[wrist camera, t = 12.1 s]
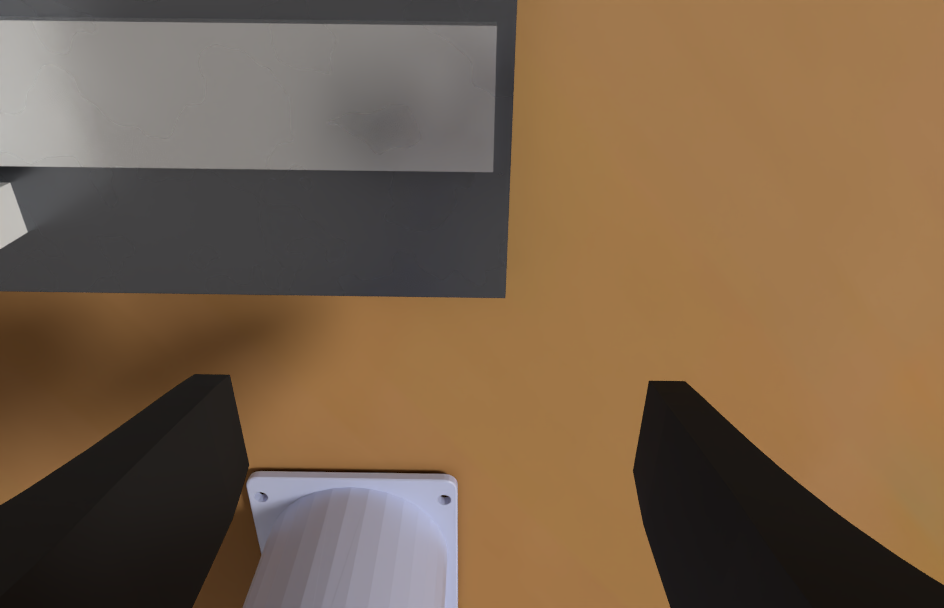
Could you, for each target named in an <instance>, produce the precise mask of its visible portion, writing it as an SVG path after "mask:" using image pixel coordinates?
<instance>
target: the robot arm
mask: <svg viewBox="0 0 944 608" xmlns="http://www.w3.org/2000/svg"><path fill="white" fill-rule="evenodd" d="M248 467H249V462H248V457H247V453H246V448H245V443H244V439H243V434H242V429H241V425H240V420H239V415H238V411H237V406H236V401H235V397H234V392H233V387H232V383H231V378H230V375H210V374H194V375H193V376H191V377H190V378H188V379H186V380H185V381H183V382H182V383H180V384H179V385H177V386H176V387H174V388H173V389H172V390H170V391H169V392H167V393H166V394H165V395H163V396H162V397H160V398H159V399H158V400H156V401H155V402H153V403H152V404H151V405H149V406H148V407H146V408H145V409H144V410H142V411H141V412H140V413H138V414H137V415H135V416H134V417H133V418H131V419H130V420H128V421H127V422H126V423H124V424H123V425H121V426H120V427H119V428H117V429H116V430H114V431H113V432H112V433H110V434H109V435H107V436H106V437H104V438H103V439H102V440H100V441H99V442H97V443H96V444H95V445H93V446H92V447H90V448H89V449H87V450H86V451H84V452H83V453H81V454H80V455H78V456H77V457H75V458H74V459H72V460H71V461H69V462H68V463H66V464H65V465H63V466H62V467H60V468H58V469H57V470H55V471H54V472H52V473H51V474H49V475H48V476H46V477H45V478H43V479H42V480H40V481H39V482H37V483H36V484H34V485H33V486H31V487H30V488H28V489H26V490H25V491H23V492H22V493H20V494H18V495H17V496H15V497H13V498H12V499H10V500H8V501H7V502H5V503H3V504H2V505H0V608H192V607H193V605H194V603H195V600H196V598H197V596H198V594H199V592H200V590H201V587H202V585H203V583H204V581H205V579H206V577H207V574H208V572H209V570H210V568H211V566H212V564H213V561H214V559H215V557H216V555H217V553H218V550H219V548H220V546H221V544H222V542H223V539H224V537H225V535H226V533H227V530H228V528H229V526H230V524H231V521H232V519H233V516H234V513H235V510H236V507H237V504H238V501H239V498H240V494H241V491H242V488H243V484H244V481H245V477H246V474H247V470H248ZM633 473H634V478H635V484H636V489H637V495H638V500H639V505H640V510H641V515H642V520H643V525H644V528H645V531H646V534H647V537H648V540H649V544H650V547H651V550H652V553H653V556H654V559H655V562H656V565H657V568H658V571H659V574H660V577H661V580H662V583H663V586H664V589H665V592H666V595H667V598H668V601H669V604H670V607H671V608H944V585H943V584H941V583H939V582H938V581H936V580H934V579H933V578H931V577H929V576H928V575H926V574H925V573H923V572H922V571H920V570H918V569H917V568H915V567H914V566H912V565H911V564H909V563H908V562H906V561H905V560H903V559H901V558H900V557H898V556H897V555H895V554H894V553H893V552H891V551H890V550H888V549H887V548H885V547H884V546H882V545H881V544H880V543H878V542H877V541H875V540H874V539H872V538H871V537H870V536H868V535H867V534H865V533H864V532H862V531H861V530H859V529H858V528H857V527H855V526H854V525H852V524H851V523H850V522H848V521H847V520H846V519H844V518H843V517H841V516H840V515H839V514H837V513H836V512H835V511H833V510H832V509H831V508H829V507H828V506H827V505H826V504H824V503H823V502H822V501H821V500H819V499H818V498H817V497H816V496H814V495H813V494H812V493H811V492H809V491H808V490H807V489H806V488H804V487H803V486H802V485H801V484H799V483H798V482H797V481H796V480H794V479H793V478H792V477H791V476H790V475H788V474H787V473H786V472H785V471H784V470H782V469H781V468H780V467H779V466H778V465H776V464H775V463H774V462H773V461H772V460H771V459H770V458H768V457H767V456H766V455H765V454H764V453H763V452H762V451H760V450H759V449H758V448H757V447H756V446H755V445H754V444H753V443H751V442H750V441H749V440H748V439H747V438H746V437H745V436H744V435H743V434H742V433H740V432H739V431H738V430H737V429H736V428H735V427H734V426H733V425H732V424H731V423H730V422H729V421H727V420H726V419H725V418H724V417H723V416H722V415H721V414H720V413H719V412H718V411H717V410H716V409H715V408H714V407H712V406H711V405H710V404H709V403H708V402H707V401H706V400H705V399H704V398H703V397H702V396H701V395H700V394H699V393H697V392H696V391H695V390H694V389H693V388H692V387H691V386H690V385H689V384H687V383H686V382H685V381H649V384H648V389H647V395H646V401H645V406H644V412H643V418H642V423H641V429H640V435H639V440H638V446H637V451H636V457H635V463H634V468H633ZM246 487H247V492H248V496H249V501H250V505H251V510H252V514H253V519H254V523H255V528H256V532H257V537H258V541H259V546H260V550H261V558H260V561H259V564H258V566H257V569H256V572H255V575H254V577H253V580H252V583H251V586H250V588H249V591H248V594H247V597H246V599H245V602H244V605H243V608H458V483H457V480H456V479H455V478H454V477H453V476H451V475H448V474H419V473H352V472H286V471H257V472H254V473H252V474H251V475H250V476H249V478H248V481H247V483H246ZM260 492H262V493H265V494H266V495H265V494H261V493H260ZM441 495H447V496H449V497H441Z"/></svg>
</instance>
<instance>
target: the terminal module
mask: <svg viewBox="0 0 944 608" xmlns="http://www.w3.org/2000/svg"><path fill="white" fill-rule="evenodd" d="M27 232H28V231H27V228H26V226H25V223H24V220H23V217H22V214H21V211H20V209H19V206H18V203H17V200H16V197H15V195H14V192H13V189H12V186H11V183H1V182H0V249H1V248H3V247H4V246H6V245H8V244H9V243H11V242H13V241H14V240H16V239H18V238H19V237H21V236H22V235H24V234H26V233H27Z"/></svg>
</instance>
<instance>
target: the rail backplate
mask: <svg viewBox="0 0 944 608" xmlns="http://www.w3.org/2000/svg"><path fill="white" fill-rule="evenodd" d="M516 15H517V0H0V182H1V183H11V186H12V189H13V192H14V195H15V197H16V200H17V203H18V206H19V209H20V211H21V214H22V217H23V220H24V223H25V226H26V228H27V231H28V232H27V233H26V234H24V235H22V236H21V237H19V238H18V239H16V240H14V241H13V242H11V243H9V244H8V245H6V246H4V247H3V248H1V249H0V291H24V292H98V293H172V294H246V295H319V296H393V297H467V298H505V293H506V268H507V242H508V217H509V192H510V166H511V141H512V116H513V91H514V65H515V40H516Z"/></svg>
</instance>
